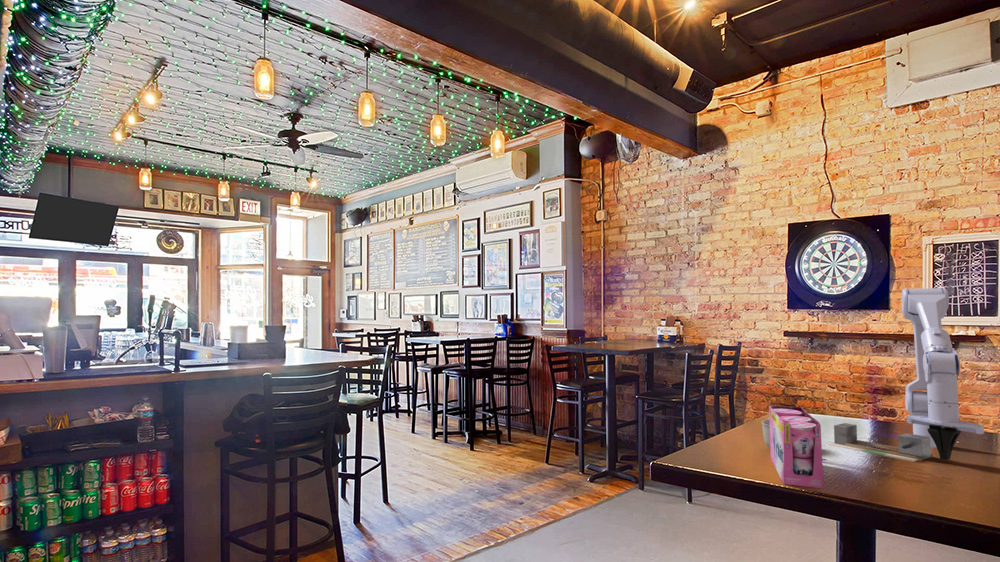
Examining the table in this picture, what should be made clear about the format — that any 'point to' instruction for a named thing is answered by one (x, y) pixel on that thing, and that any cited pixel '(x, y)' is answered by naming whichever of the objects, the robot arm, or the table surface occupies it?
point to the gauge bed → (848, 437)
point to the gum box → (796, 446)
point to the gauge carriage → (914, 445)
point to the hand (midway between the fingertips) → (945, 458)
